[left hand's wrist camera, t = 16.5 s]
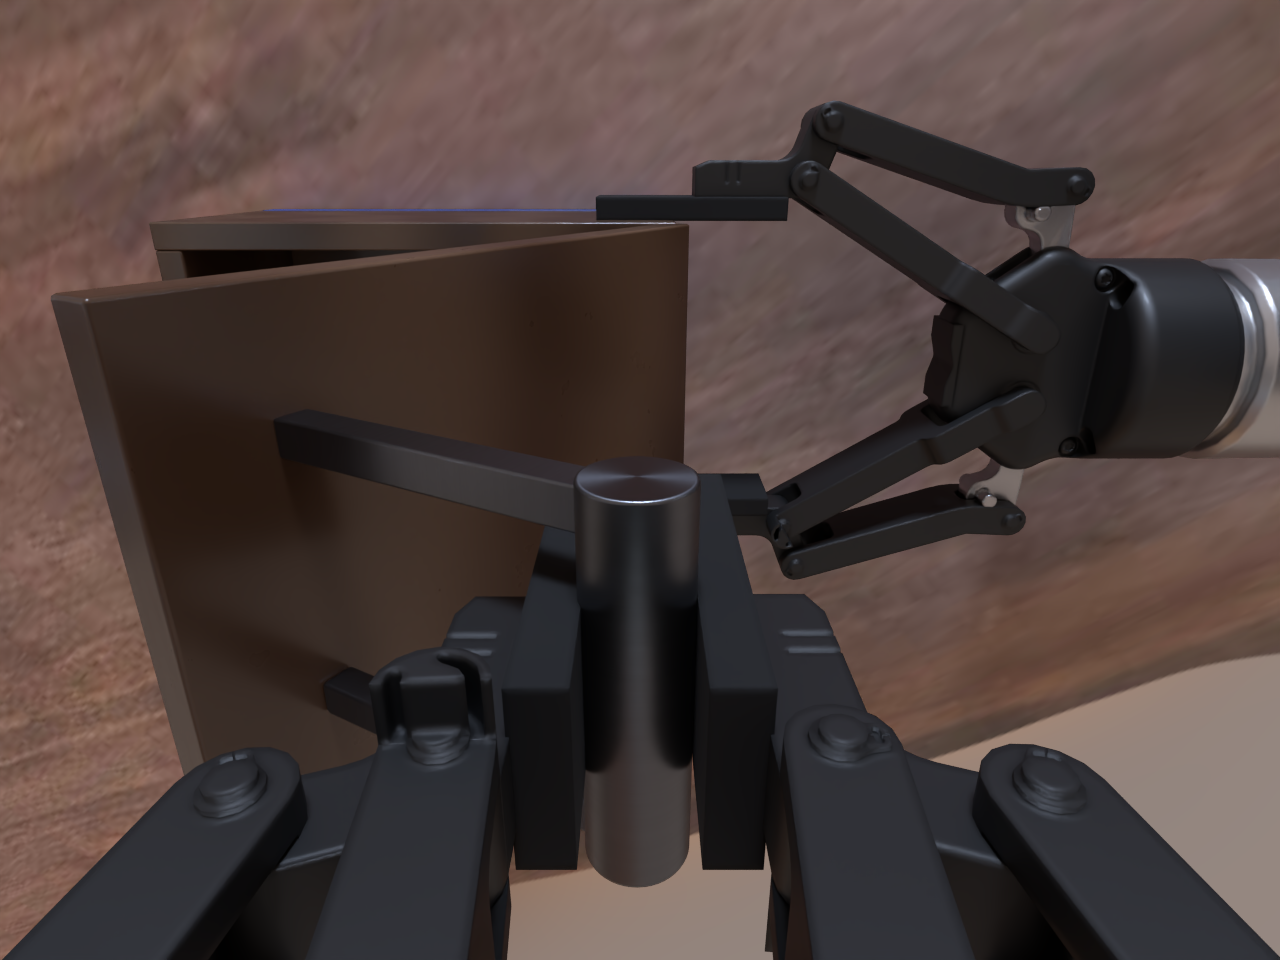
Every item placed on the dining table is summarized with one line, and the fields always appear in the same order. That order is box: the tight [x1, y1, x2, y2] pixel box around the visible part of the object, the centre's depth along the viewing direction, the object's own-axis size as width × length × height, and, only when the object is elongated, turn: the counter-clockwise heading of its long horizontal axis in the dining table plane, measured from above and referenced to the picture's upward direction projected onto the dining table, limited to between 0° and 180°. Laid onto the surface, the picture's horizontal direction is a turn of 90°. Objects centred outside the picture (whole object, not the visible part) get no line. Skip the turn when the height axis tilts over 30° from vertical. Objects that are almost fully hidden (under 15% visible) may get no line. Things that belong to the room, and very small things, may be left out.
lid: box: [51, 223, 701, 887], centre depth 17 cm, size 18×10×8 cm
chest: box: [149, 209, 676, 281], centre depth 31 cm, size 17×10×9 cm, turn 90°
